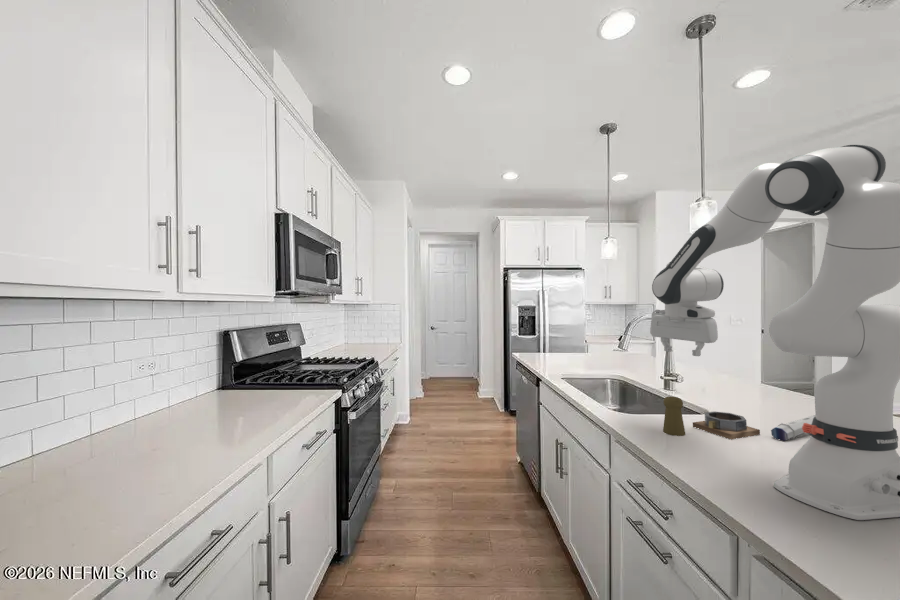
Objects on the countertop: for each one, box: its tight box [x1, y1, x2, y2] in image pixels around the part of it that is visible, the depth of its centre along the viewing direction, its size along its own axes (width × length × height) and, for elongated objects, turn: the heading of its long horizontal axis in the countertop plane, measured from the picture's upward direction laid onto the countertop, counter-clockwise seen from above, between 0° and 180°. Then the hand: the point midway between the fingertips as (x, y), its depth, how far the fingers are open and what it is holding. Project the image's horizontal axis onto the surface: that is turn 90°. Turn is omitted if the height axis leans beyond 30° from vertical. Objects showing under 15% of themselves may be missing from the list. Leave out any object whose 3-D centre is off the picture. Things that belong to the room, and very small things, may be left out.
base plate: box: [692, 420, 761, 440], centre depth 115 cm, size 12×12×2 cm
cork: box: [662, 395, 686, 437], centre depth 114 cm, size 6×6×11 cm
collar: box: [704, 411, 748, 432], centre depth 115 cm, size 11×10×3 cm
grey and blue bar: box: [770, 415, 815, 442], centre depth 110 cm, size 5×7×25 cm
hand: (681, 353), depth 118 cm, fingers open, 8 cm apart
